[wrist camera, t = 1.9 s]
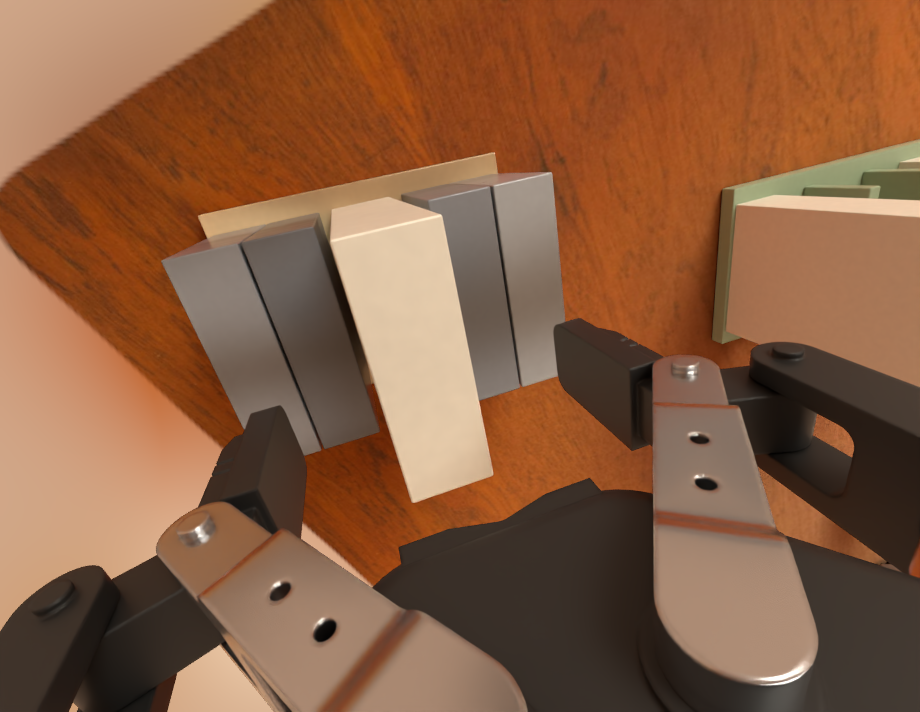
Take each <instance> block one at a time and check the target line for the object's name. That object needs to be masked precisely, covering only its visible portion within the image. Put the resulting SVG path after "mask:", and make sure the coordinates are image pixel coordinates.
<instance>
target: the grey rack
mask: <svg viewBox="0 0 920 712" xmlns="http://www.w3.org/2000/svg"><path fill="white" fill-rule="evenodd" d="M385 197H390V198H393V199H396V200H399V201H402V202H405V203H408V204H411V205H414V206H417V207H420V208H423V209H426V210H429V211H432V212H435V213H438V214H441V215H442V217H443V222H444V228H445V233H446V238H447V243H448V248H449V253H450V258H451V263H452V268H453V273H454V278H455V283H456V288H457V293H458V298H459V303H460V308H461V313H462V318H463V323H464V328H465V333H466V338H467V343H468V348H469V353H470V358H471V363H472V368H473V373H474V378H475V383H476V388H477V393H478V398H479V401H480V400H483V399H486V398H490V397H493V396H496V395H499V394H502V393H506V392H509V391H512V390H515V389H518V388H519V387H520V386H519V384H520V385H521V386H522V387H525V386H528V385H531V384H534V383H537V382H540V381H544V380H547V379H550V378H553V377H556V376H558V373H557V364H556V355H555V346H554V336H553V330H554V326H555V325H557V324H560V323H564V322H565V312H564V301H563V290H562V279H561V267H560V256H559V245H558V234H557V223H556V211H555V200H554V189H553V178H552V172H535V173H500V174H498V171H497V164H496V157H495V153H494V152H493V153H487V154H482V155H478V156H473V157H468V158H463V159H459V160H454V161H449V162H445V163H440V164H435V165H431V166H426V167H421V168H417V169H412V170H407V171H403V172H398V173H393V174H388V175H384V176H379V177H374V178H370V179H365V180H360V181H356V182H351V183H346V184H342V185H337V186H332V187H328V188H323V189H318V190H313V191H309V192H304V193H299V194H295V195H290V196H285V197H281V198H276V199H271V200H267V201H262V202H257V203H253V204H248V205H243V206H238V207H234V208H229V209H224V210H220V211H215V212H210V213H206V214H202V215H199V216H198V218H199V221H200V223H201V225H202V228H203V230H204V232H205V235H206V237H207V239H205V240H203V241H201V242H199V243H197V244H195V245H193V246H191V247H189V248H187V249H185V250H182V251H180V252H178V253H176V254H174V255H172V256H170V257H168V258H166V259H164V260H162V261H161V262H162V264H163V266H164V268H165V270H166V272H167V274H168V276H169V279H170V281H171V283H172V285H173V287H174V289H175V291H176V293H177V295H178V297H179V299H180V301H181V303H182V305H183V307H184V309H185V311H186V313H187V315H188V317H189V319H190V321H191V323H192V325H193V327H194V329H195V331H196V333H197V335H198V337H199V339H200V341H201V344H202V346H203V348H204V350H205V352H206V354H207V356H208V358H209V360H210V362H211V364H212V366H213V368H214V370H215V372H216V374H217V376H218V378H219V380H220V382H221V384H222V386H223V388H224V390H225V392H226V394H227V396H228V398H229V400H230V402H231V404H232V406H233V409H234V411H235V413H236V415H237V417H238V419H239V421H240V423H241V425H242V427H243V429H244V430H245V427H246V425H247V422H248V419H249V416H250V414H251V413H254V412H257V411H261V410H264V409H268V408H271V407H275V406H278V405H281V406H282V407H283V409H284V410H285V412H286V414H287V417H288V419H289V421H290V424H291V426H292V428H293V431H294V433H295V435H296V438H297V440H298V442H299V445H300V447H301V449H302V452H303V455H304V456H305V455H308V454H312V453H315V452H318V451H321V448H322V445H323V447H324V449H327V448H331V447H334V446H337V445H340V444H343V443H347V442H350V441H353V440H356V439H359V438H362V437H366V436H369V435H372V434H375V433H378V432H380V427H379V422H378V416H377V411H376V406H375V400H374V395H373V390H372V384H373V383H374V381H373V378H372V375H371V372H370V369H369V366H368V362H367V359H366V356H365V353H364V350H363V347H362V343H361V340H360V337H359V334H358V331H357V328H356V324H355V321H354V318H353V315H352V312H351V309H350V305H349V302H348V299H347V296H346V293H345V290H344V286H343V283H342V280H341V277H340V274H339V271H338V267H337V264H336V261H335V258H334V255H333V252H332V248H331V245H330V230H331V211H332V209H336V208H340V207H345V206H349V205H354V204H358V203H363V202H367V201H372V200H376V199H381V198H385Z"/></svg>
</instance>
